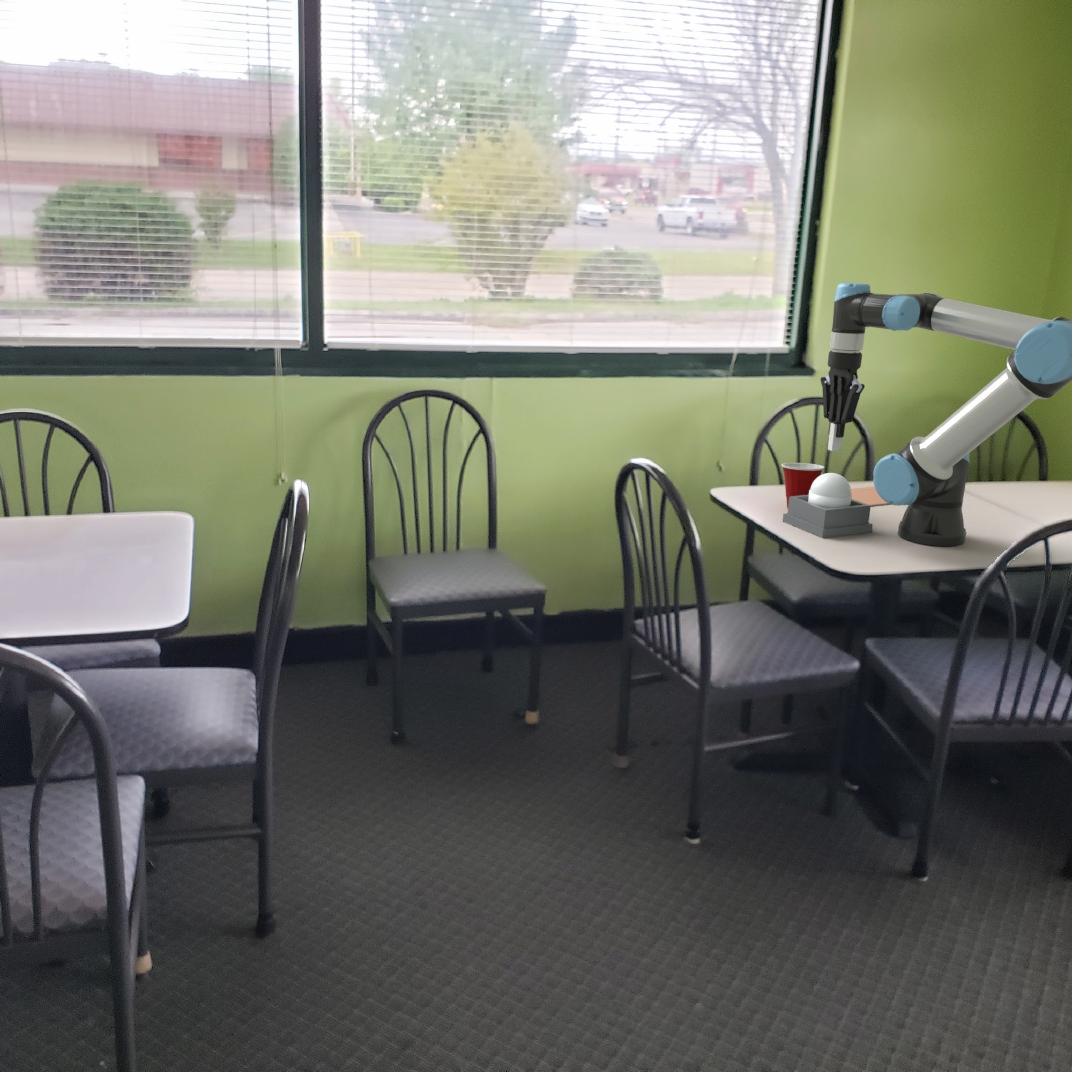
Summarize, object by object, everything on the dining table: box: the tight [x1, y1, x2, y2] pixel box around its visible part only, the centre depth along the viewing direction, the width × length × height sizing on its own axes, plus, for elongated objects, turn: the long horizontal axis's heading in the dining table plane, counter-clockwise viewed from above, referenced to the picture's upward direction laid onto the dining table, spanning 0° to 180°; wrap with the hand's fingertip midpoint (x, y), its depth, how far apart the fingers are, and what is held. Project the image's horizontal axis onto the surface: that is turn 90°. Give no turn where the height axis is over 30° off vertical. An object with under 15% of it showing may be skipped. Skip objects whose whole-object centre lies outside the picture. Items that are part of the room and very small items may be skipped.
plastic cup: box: [781, 462, 825, 509], centre depth 265 cm, size 11×11×12 cm
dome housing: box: [782, 495, 873, 539], centre depth 250 cm, size 15×15×6 cm
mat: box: [851, 486, 890, 507], centre depth 281 cm, size 16×16×1 cm
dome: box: [808, 472, 852, 509], centre depth 248 cm, size 10×10×10 cm
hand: (834, 449), depth 246 cm, fingers closed
